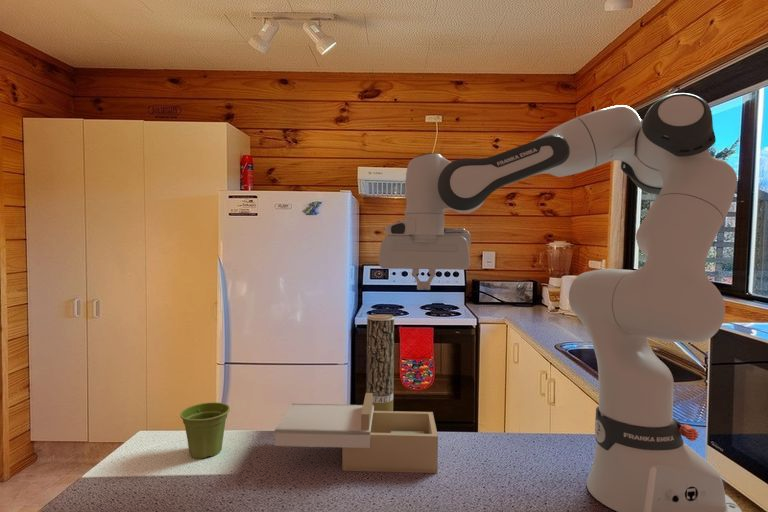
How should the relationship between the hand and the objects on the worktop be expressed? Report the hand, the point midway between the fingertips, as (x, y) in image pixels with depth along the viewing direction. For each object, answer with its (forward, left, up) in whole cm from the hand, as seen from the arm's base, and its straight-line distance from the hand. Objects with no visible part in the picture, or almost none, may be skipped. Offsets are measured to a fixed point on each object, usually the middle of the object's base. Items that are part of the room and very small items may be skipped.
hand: (423, 289), depth 97 cm
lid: (+20, +10, -28) cm, 36 cm away
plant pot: (+45, +10, -33) cm, 57 cm away
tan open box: (+7, +10, -33) cm, 35 cm away
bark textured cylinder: (+10, -12, -33) cm, 37 cm away
